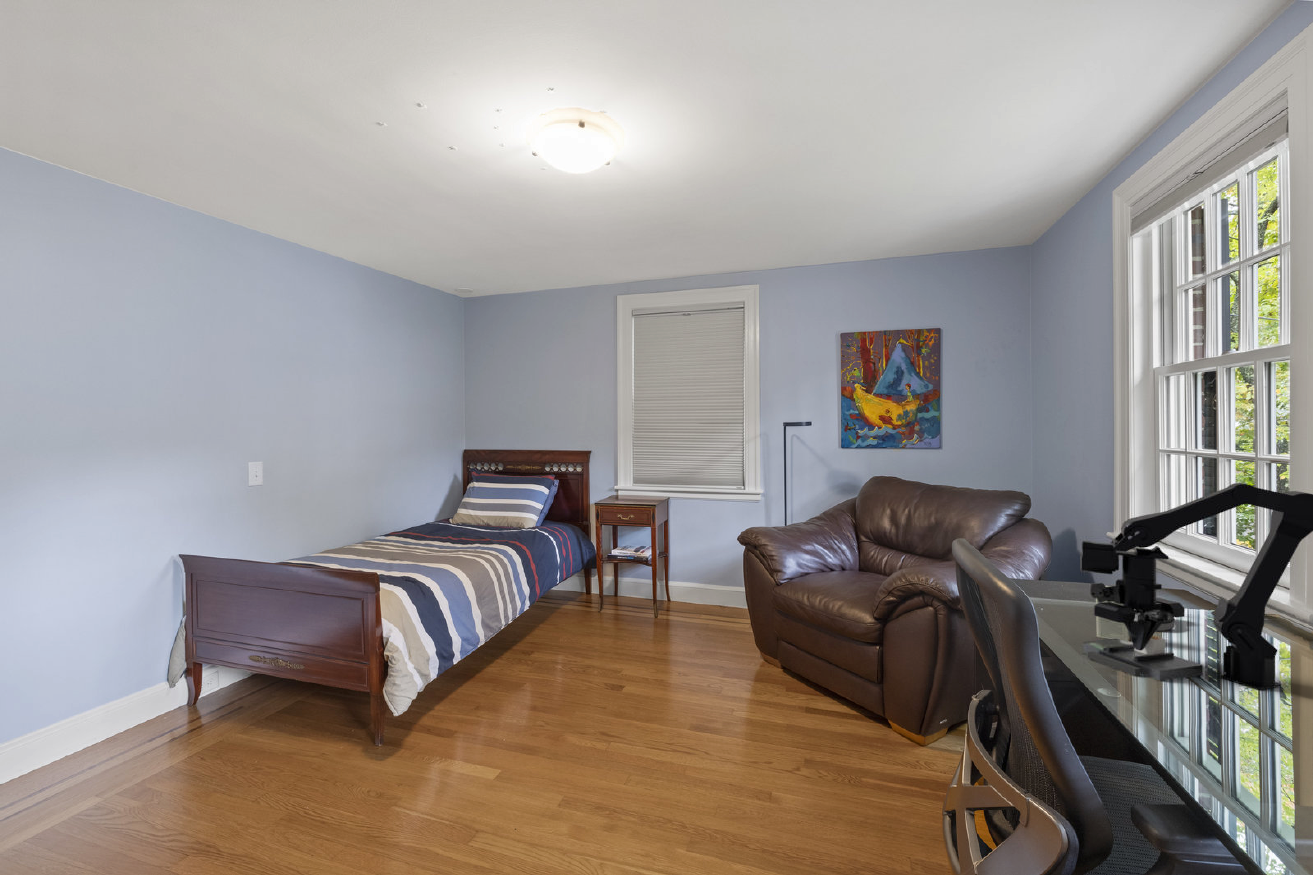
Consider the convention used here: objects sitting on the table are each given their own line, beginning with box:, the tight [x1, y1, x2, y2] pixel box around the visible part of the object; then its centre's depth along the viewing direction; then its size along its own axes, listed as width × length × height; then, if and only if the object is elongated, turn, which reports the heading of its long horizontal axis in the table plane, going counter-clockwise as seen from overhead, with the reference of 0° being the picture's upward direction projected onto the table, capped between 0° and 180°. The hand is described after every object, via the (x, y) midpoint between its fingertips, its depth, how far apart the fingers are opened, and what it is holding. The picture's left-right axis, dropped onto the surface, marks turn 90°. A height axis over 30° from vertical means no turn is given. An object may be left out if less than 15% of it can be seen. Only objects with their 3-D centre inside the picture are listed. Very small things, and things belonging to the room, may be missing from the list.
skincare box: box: [1095, 585, 1131, 641], centre depth 143 cm, size 6×4×12 cm
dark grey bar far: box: [1082, 638, 1120, 644], centre depth 136 cm, size 1×10×1 cm, turn 105°
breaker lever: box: [1134, 635, 1166, 655], centre depth 127 cm, size 4×3×4 cm
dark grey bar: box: [1086, 651, 1141, 677], centre depth 125 cm, size 10×1×1 cm, turn 15°
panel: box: [1081, 639, 1204, 682], centre depth 127 cm, size 16×12×3 cm
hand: (1138, 649), depth 126 cm, fingers closed
